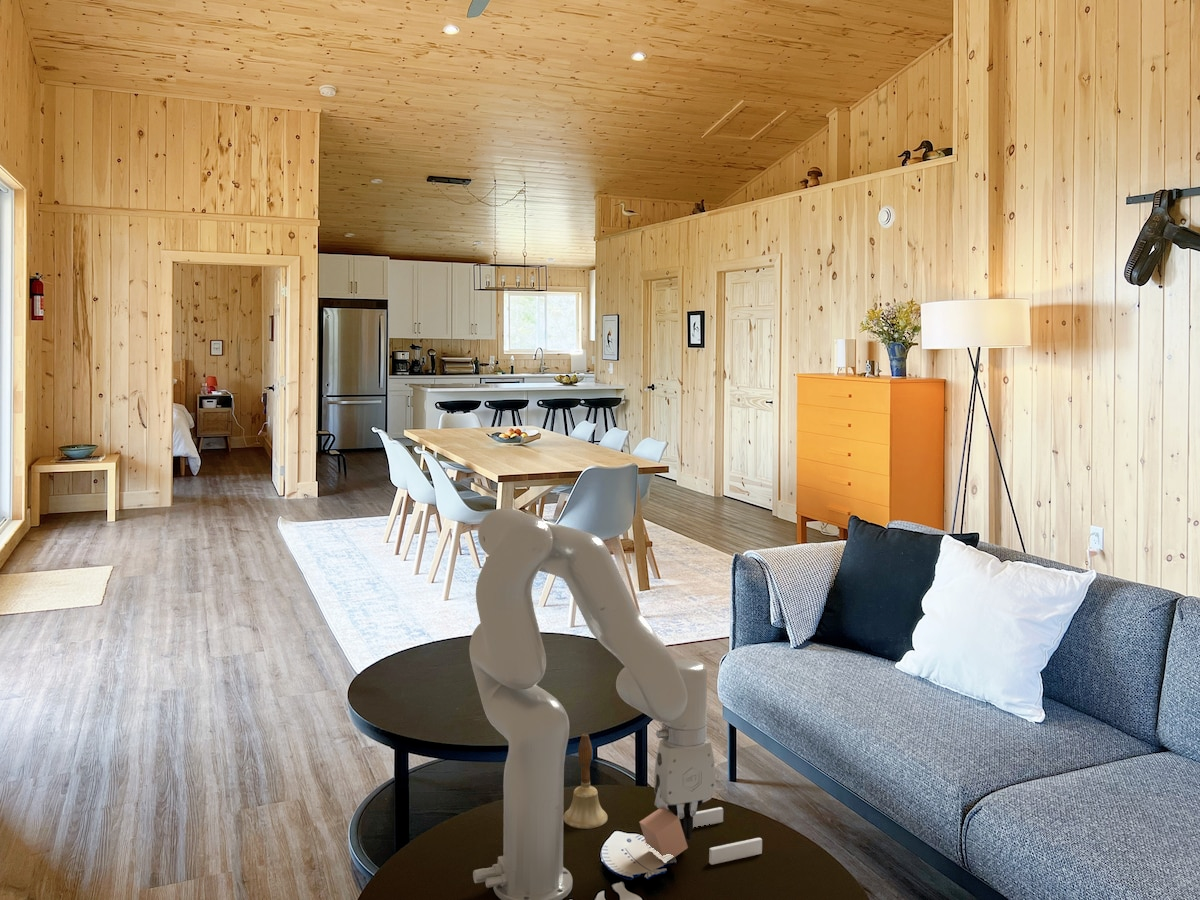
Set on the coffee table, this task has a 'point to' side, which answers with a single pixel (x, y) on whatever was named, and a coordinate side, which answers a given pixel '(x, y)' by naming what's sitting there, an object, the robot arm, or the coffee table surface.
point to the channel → (728, 850)
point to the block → (664, 832)
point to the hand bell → (585, 794)
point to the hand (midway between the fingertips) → (683, 836)
